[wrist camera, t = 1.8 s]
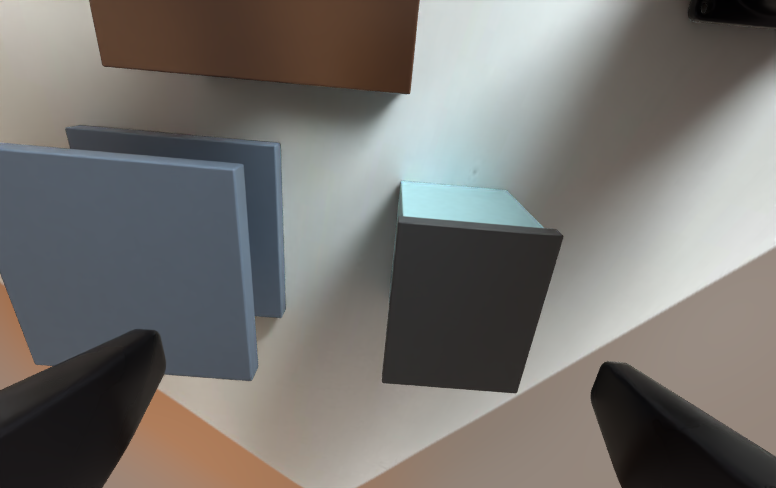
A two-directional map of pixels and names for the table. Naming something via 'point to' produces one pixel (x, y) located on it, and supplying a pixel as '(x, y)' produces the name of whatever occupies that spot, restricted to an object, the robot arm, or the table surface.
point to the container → (465, 288)
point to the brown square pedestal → (264, 40)
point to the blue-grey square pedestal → (144, 245)
